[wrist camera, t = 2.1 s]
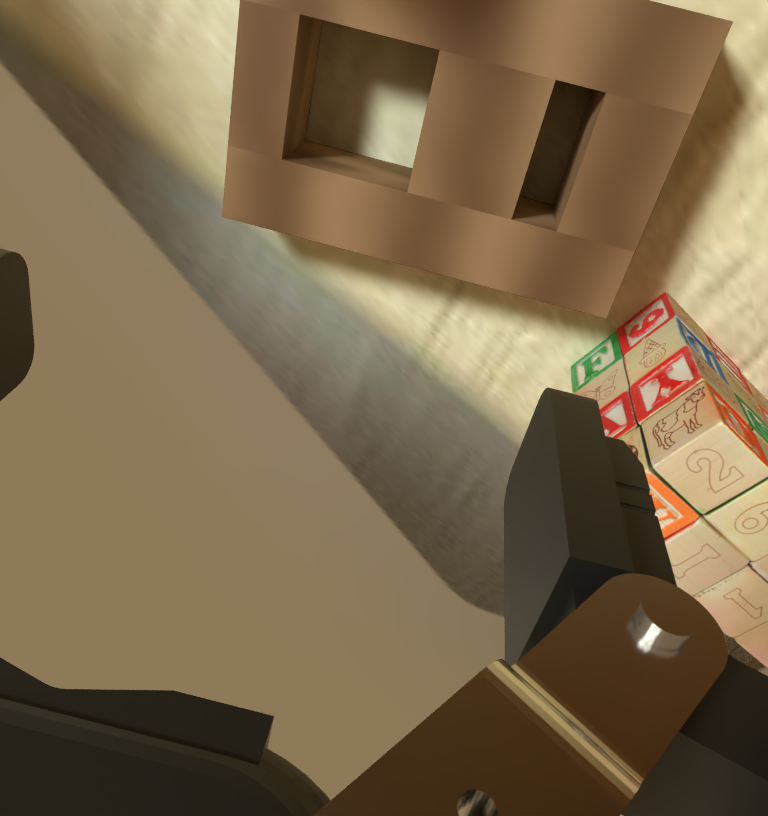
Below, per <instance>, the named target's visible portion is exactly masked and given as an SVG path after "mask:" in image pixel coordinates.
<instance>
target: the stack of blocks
mask: <svg viewBox="0 0 768 816" xmlns="http://www.w3.org/2000/svg"><path fill="white" fill-rule="evenodd" d="M571 381H572V393H573V394H576V395H580V396H584V397H588V398H592V399H595V400H597V402H598V405H599V409H600V414H601V418H602V423H603V428H604V432H605V436H608V437H612V438H616V439H620V440H624V442H625V443H626V444H627V445H628V447H629V448H630V449H631V450H632V452H633V453H634V454H635V456H636V457H637V458H638V459H639V461H640V462H641V463H642V464H643V466H644V470H645V473H646V477H647V480H648V484H649V488H650V492H649V495H652V498H653V502H654V505H655V509H656V512H655V516H658V520H659V523H660V527H661V530H662V534H663V537H664V541H665V545H666V548H667V552H668V555H669V559H670V562H671V566H672V570H673V573H674V577H675V580H676V584H677V587H679V588H681V589H682V590H684V591H685V592H687V593H688V594H690V595H691V596H692V597H693V598H695V599H696V600H697V601H699V602H700V603H701V604H702V605H703V606H704V607H705V608H706V609H707V610H708V611H709V613H710V614H711V615H712V616H713V617H714V619H715V620H716V622H717V623H718V625H719V626H720V628H721V630H722V632H723V633H725V634H726V635H727V636H729V637H733V638H734V639H735V641H736V642H737V643H738V644H739V645H740V646H741V647H743V648H744V649H745V650H746V651H748V652H749V653H750V654H751V655H752V656H754V657H755V658H756V659H757V660H758V661H760V662H761V663H762V664H763V665H764V666H766V667H767V668H768V400H767V399H766V398H765V397H764V396H763V395H762V394H761V393H760V392H759V391H758V390H757V389H756V388H755V387H754V386H753V385H752V384H751V383H750V382H749V381H748V380H747V379H746V378H745V377H744V376H743V374H741V372H740V370H739V368H738V367H737V366H736V365H735V364H734V363H733V362H732V361H731V360H730V359H729V358H728V357H727V356H726V355H725V354H724V353H723V352H722V350H721V349H720V348H719V347H718V346H717V345H716V344H715V343H714V342H713V341H712V340H711V339H710V338H709V337H708V336H707V335H706V334H705V332H704V331H703V330H702V329H701V328H700V326H699V325H698V324H697V323H696V322H695V321H694V320H693V319H692V318H691V317H690V316H689V315H688V314H687V313H686V312H685V311H684V310H683V308H682V307H681V306H680V305H679V304H678V303H677V302H676V301H675V300H674V299H673V298H672V297H671V296H670V295H669V294H668V293H666V292H665V293H663V294H662V295H661V296H659V297H658V298H657V299H655V300H654V301H653V302H652V303H650V304H649V305H648V306H646V307H645V308H644V309H643V310H641V311H640V312H639V313H637V314H636V315H635V316H634V317H633V318H631V319H630V320H629V321H627V322H626V323H625V324H624V325H622V326H621V327H620V328H618V330H617V331H616V332H615V333H614V334H612V335H611V336H610V337H608V338H607V339H606V340H605V341H603V342H602V343H601V344H599V345H598V346H597V347H595V348H594V349H593V350H592V351H590V352H589V353H588V354H586V355H585V356H584V357H583V358H581V359H580V360H579V361H577V362H576V363H575V364H573V365H572V366H571Z"/></svg>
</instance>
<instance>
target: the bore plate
mask: <svg viewBox="0 0 768 816" xmlns="http://www.w3.org/2000/svg"><path fill="white" fill-rule="evenodd" d="M322 20H325V21H328V22H332V23H336V24H340V25H344V26H348V27H352V28H356V29H360V30H364V31H368V32H371V33H375V34H379V35H383V36H387V37H391V38H395V39H399V40H403V41H407V42H410V43H414V44H418V45H422V46H426V47H430V48H434V49H438V50H440V51H439V55H438V60H437V64H436V68H435V73H434V77H433V82H432V86H431V90H430V95H429V99H428V104H427V108H426V112H425V117H424V121H423V126H422V130H421V134H420V139H419V143H418V147H417V152H416V156H415V161H414V165H413V169H412V168H408V167H405V166H401V165H397V164H393V163H389V162H385V161H382V160H378V159H374V158H370V157H366V156H362V155H359V154H355V153H351V152H347V151H343V150H339V149H336V148H332V147H328V146H324V145H320V144H316V143H313V142H309V141H305V139H306V132H307V125H308V118H309V111H310V104H311V97H312V90H313V83H314V76H315V69H316V62H317V55H318V48H319V40H320V33H321V26H322ZM732 23H733V22H732V21H728V20H724V19H720V18H716V17H712V16H709V15H705V14H701V13H697V12H693V11H689V10H685V9H681V8H677V7H673V6H669V5H665V4H661V3H657V2H653V1H649V0H240V8H239V20H238V32H237V44H236V56H235V68H234V80H233V92H232V104H231V116H230V128H229V140H228V152H227V164H226V176H225V188H224V200H223V212H222V217H225V218H228V219H232V220H236V221H240V222H244V223H247V224H251V225H255V226H259V227H262V228H266V229H270V230H274V231H278V232H281V233H285V234H289V235H293V236H297V237H300V238H304V239H308V240H312V241H315V242H319V243H323V244H327V245H331V246H334V247H338V248H342V249H346V250H349V251H353V252H357V253H361V254H365V255H368V256H372V257H376V258H380V259H384V260H387V261H391V262H395V263H399V264H402V265H406V266H410V267H414V268H418V269H421V270H425V271H429V272H433V273H436V274H440V275H444V276H448V277H452V278H455V279H459V280H463V281H467V282H471V283H474V284H478V285H482V286H486V287H489V288H493V289H497V290H501V291H505V292H508V293H512V294H516V295H520V296H523V297H527V298H531V299H535V300H539V301H542V302H546V303H550V304H554V305H558V306H561V307H565V308H569V309H573V310H576V311H580V312H584V313H588V314H592V315H595V316H599V317H603V318H607V315H608V313H609V311H610V308H611V306H612V304H613V301H614V299H615V297H616V294H617V292H618V290H619V287H620V285H621V283H622V280H623V278H624V276H625V273H626V271H627V268H628V266H629V264H630V261H631V259H632V257H633V254H634V252H635V250H636V247H637V245H638V243H639V240H640V238H641V236H642V233H643V231H644V229H645V226H646V224H647V222H648V219H649V217H650V215H651V212H652V210H653V208H654V205H655V203H656V201H657V198H658V196H659V194H660V191H661V189H662V187H663V184H664V182H665V180H666V177H667V175H668V173H669V170H670V168H671V166H672V163H673V161H674V159H675V156H676V154H677V152H678V149H679V147H680V145H681V142H682V140H683V138H684V135H685V133H686V131H687V128H688V126H689V124H690V121H691V119H692V117H693V114H694V112H695V110H696V107H697V105H698V103H699V100H700V98H701V96H702V93H703V91H704V89H705V86H706V84H707V82H708V79H709V77H710V75H711V72H712V70H713V67H714V65H715V63H716V60H717V58H718V56H719V53H720V51H721V49H722V46H723V44H724V42H725V39H726V37H727V35H728V32H729V30H730V28H731V25H732ZM555 80H559V81H563V82H567V83H570V84H574V85H578V86H582V87H586V88H590V89H593V92H592V95H591V98H590V101H589V104H588V106H587V109H586V112H585V115H584V118H583V121H582V124H581V127H580V129H579V132H578V135H577V138H576V141H575V144H574V147H573V150H572V153H571V155H570V158H569V161H568V164H567V167H566V170H565V173H564V176H563V178H562V181H561V184H560V187H559V190H558V193H557V196H556V199H555V202H554V204H553V205H550V204H546V203H543V202H539V201H535V200H531V199H527V198H523V197H520V196H519V194H520V191H521V188H522V185H523V181H524V178H525V175H526V172H527V169H528V166H529V162H530V159H531V156H532V153H533V150H534V147H535V144H536V140H537V137H538V134H539V131H540V128H541V125H542V121H543V118H544V115H545V112H546V109H547V106H548V103H549V99H550V96H551V93H552V90H553V87H554V84H555Z"/></svg>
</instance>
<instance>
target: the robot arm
mask: <svg viewBox="0 0 768 816" xmlns="http://www.w3.org/2000/svg"><path fill="white" fill-rule="evenodd" d="M33 355H34V336H33V324H32V313H31V300H30V288H29V276H28V268H27V265H26V262H25V260H24V259H23V257H21V255H20V254H18V253H16V252H12V251H7V250H4V249H0V401H1V400H2V399H3V398H4V397H5V396H6V395H8V394H9V393H10V392H11V391H12V390H13V389H14V388H16V387H17V386H18V384H20V383H21V382H22V381H23V379H24V378H25V376H26V375H27V373H28V371H29V369H30V366H31V363H32V360H33ZM649 492H650V488H649V484H648V480H647V477H646V473H645V470H644V466H643V464H642V463H641V462H640V461H639V459H638V458H637V457H636V456H635V454H634V453H633V452H632V450H631V449H630V448H629V447H628V445H627V444H626V443H625V442H624V440H620V439H616V438H612V437H608V436H605V432H604V428H603V423H602V418H601V414H600V409H599V405H598V402H597V400H595V399H592V398H588V397H584V396H580V395H576V394H572V393H568V392H564V391H560V390H556V389H552V388H546V389H545V390H544V392H543V393H542V395H541V397H540V399H539V401H538V404H537V406H536V409H535V411H534V414H533V417H532V419H531V422H530V424H529V427H528V429H527V432H526V434H525V437H524V439H523V442H522V444H521V447H520V450H519V452H518V455H517V457H516V460H515V462H514V465H513V467H512V470H511V473H510V477H509V480H508V484H507V489H506V495H505V502H504V576H505V661H504V660H502V659H499V660H496V661H494V662H493V663H491V664H490V665H488V666H486V667H485V668H484V669H483V670H482V671H480V672H479V673H478V674H477V675H476V676H475V677H473V678H472V679H471V680H470V681H469V682H467V683H466V684H465V685H464V686H463V687H462V688H460V689H459V690H458V691H457V692H456V693H455V694H453V695H452V696H451V697H450V698H449V699H448V700H447V701H445V702H444V703H443V704H442V705H441V706H440V707H438V708H437V709H436V710H435V711H434V712H433V713H431V714H430V715H429V716H428V717H427V718H426V719H425V720H423V721H422V722H421V723H420V724H419V725H418V726H416V728H414V729H413V730H412V731H411V732H409V733H408V734H407V735H406V736H405V737H404V738H402V739H401V740H400V741H399V742H398V743H397V744H395V745H394V746H393V747H392V748H391V749H390V750H389V751H387V752H386V753H385V754H384V755H383V756H382V757H380V758H379V759H378V760H377V761H376V762H375V763H374V764H372V765H371V766H370V767H369V768H368V769H367V770H365V771H364V772H363V773H362V774H361V775H360V776H358V777H357V778H356V779H355V780H354V781H353V782H351V783H350V784H349V785H348V786H347V787H346V788H345V789H343V790H342V791H341V792H340V793H339V794H338V795H336V796H335V797H334V798H333V799H332V800H330V799H329V798H328V796H327V795H326V794H325V793H324V792H323V791H322V790H321V789H320V788H319V787H318V786H317V785H316V784H315V783H314V782H313V781H312V780H311V779H310V778H309V777H308V776H307V775H306V774H304V773H303V772H302V771H301V770H299V769H298V768H297V767H295V766H294V765H293V764H291V763H290V762H289V761H287V760H286V759H284V758H283V757H281V756H279V755H277V754H276V753H274V752H272V751H271V750H269V749H267V748H268V743H269V738H270V733H271V728H272V723H273V718H274V716H271V715H267V714H263V713H259V712H255V711H252V710H248V709H244V708H239V707H236V706H232V705H228V704H224V703H220V702H216V701H212V700H208V699H204V698H200V697H196V696H193V695H189V694H185V693H181V692H177V691H164V690H89V689H88V690H87V689H86V690H85V689H59V688H55V687H51V686H49V685H47V684H45V683H43V682H41V681H40V680H38V679H36V678H35V677H33V676H31V675H29V674H27V673H26V672H24V671H22V670H21V669H19V668H17V667H16V666H14V665H12V664H10V663H9V662H7V661H5V660H3V659H2V658H0V816H620V815H621V814H622V815H624V816H768V676H766V675H764V674H762V673H760V672H758V671H756V670H754V669H753V668H751V667H749V666H747V665H745V664H743V663H742V662H740V661H738V660H736V659H735V658H733V657H732V656H730V655H729V654H728V646H727V642H726V639H725V636H724V634H723V632H722V630H721V628H720V626H719V625H718V623H717V622H716V620H715V619H714V617H713V616H712V615H711V614H710V613H709V611H708V610H707V609H706V608H705V607H704V606H703V605H702V604H701V603H700V602H699V601H697V600H696V599H695V598H693V597H692V596H691V595H690V594H688V593H687V592H685V591H684V590H682V589H681V588H679V587H677V584H676V580H675V577H674V573H673V570H672V566H671V562H670V559H669V555H668V552H667V548H666V545H665V541H664V537H663V534H662V530H661V527H660V523H659V520H658V516H655V512H656V509H655V505H654V502H653V498H652V495H649Z"/></svg>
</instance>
